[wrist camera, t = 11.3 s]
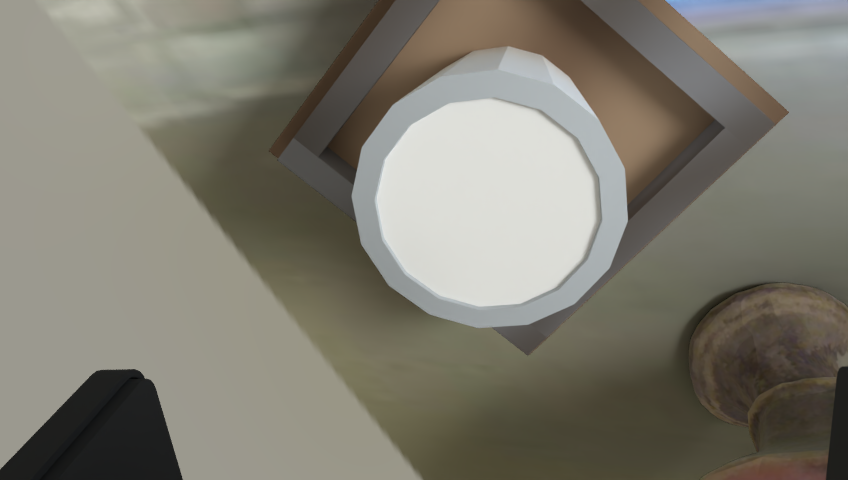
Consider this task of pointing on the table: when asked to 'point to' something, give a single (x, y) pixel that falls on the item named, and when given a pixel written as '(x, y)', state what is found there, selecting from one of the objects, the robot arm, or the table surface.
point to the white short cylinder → (491, 192)
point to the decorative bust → (773, 376)
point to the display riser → (589, 71)
